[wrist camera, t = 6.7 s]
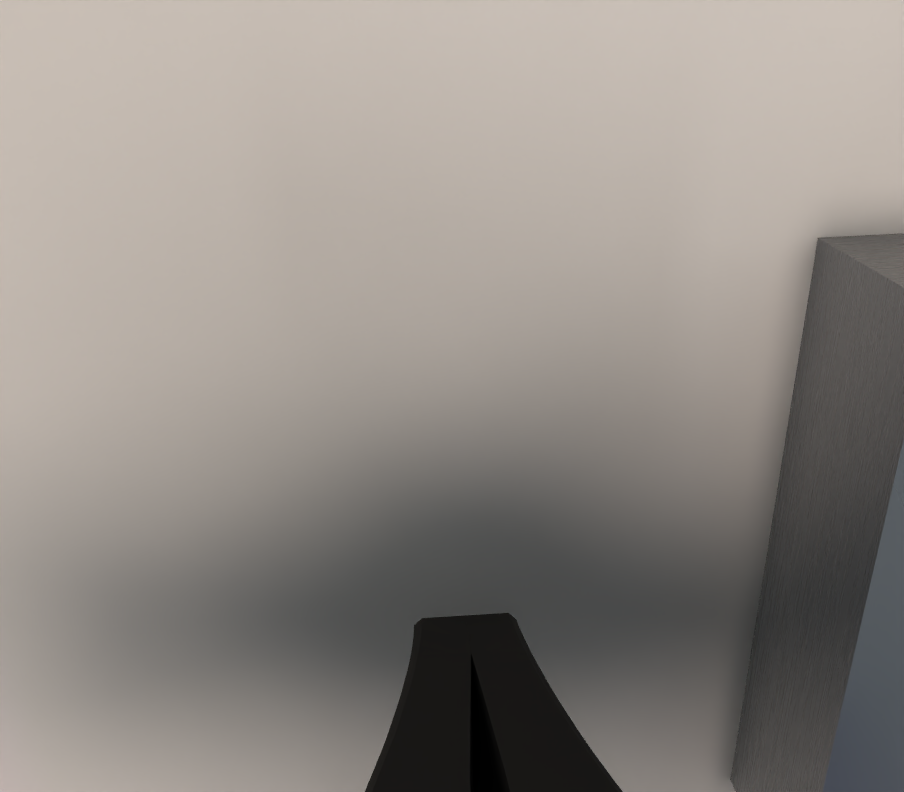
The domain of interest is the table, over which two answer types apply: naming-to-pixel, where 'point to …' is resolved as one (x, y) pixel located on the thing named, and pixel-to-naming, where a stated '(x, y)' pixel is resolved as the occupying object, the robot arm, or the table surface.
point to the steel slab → (836, 545)
